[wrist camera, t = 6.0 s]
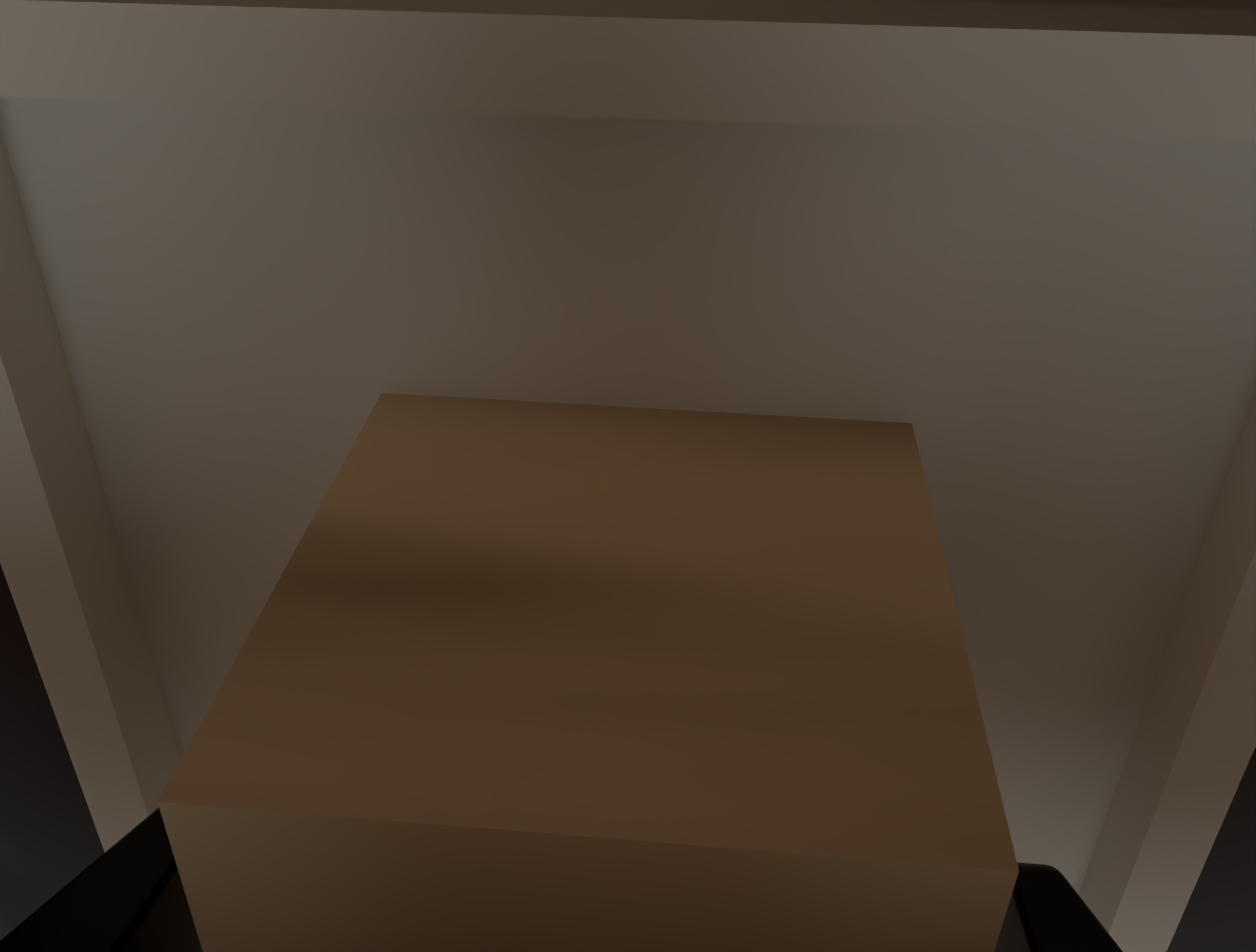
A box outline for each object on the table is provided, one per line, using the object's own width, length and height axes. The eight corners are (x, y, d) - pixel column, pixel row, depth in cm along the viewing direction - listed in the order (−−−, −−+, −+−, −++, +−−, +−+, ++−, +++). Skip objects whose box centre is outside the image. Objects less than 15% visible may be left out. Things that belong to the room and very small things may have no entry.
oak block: (846, 793, 13) (891, 1276, 9) (423, 761, 14) (282, 1213, 10) (911, 424, 11) (1018, 871, 6) (381, 393, 11) (156, 802, 7)
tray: (1445, 1, 9) (1560, 44, 8) (1083, 967, 16) (1112, 1075, 14) (-83, -42, 10) (-205, -6, 8) (199, 895, 16) (155, 991, 15)
